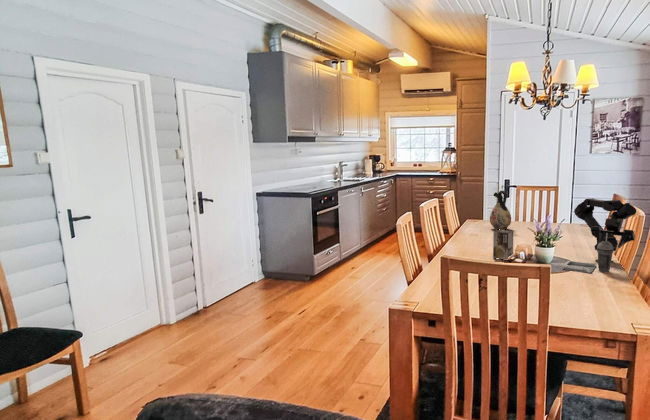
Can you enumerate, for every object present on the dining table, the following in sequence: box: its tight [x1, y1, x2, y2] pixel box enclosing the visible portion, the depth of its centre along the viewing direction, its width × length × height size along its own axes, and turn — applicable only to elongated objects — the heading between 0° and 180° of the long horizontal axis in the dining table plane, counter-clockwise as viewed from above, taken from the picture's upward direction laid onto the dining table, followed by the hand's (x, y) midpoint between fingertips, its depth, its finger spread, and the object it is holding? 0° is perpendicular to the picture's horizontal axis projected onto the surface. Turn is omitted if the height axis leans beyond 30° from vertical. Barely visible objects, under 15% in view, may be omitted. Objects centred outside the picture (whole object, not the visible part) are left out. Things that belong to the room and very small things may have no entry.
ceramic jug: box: [489, 190, 512, 231], centre depth 336 cm, size 17×15×30 cm
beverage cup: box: [596, 233, 614, 274], centre depth 224 cm, size 7×7×20 cm
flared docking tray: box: [562, 260, 597, 274], centre depth 232 cm, size 13×15×2 cm
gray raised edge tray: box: [562, 264, 597, 274], centre depth 232 cm, size 13×14×1 cm
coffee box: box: [492, 230, 514, 259], centre depth 254 cm, size 9×6×16 cm
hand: (607, 246), depth 225 cm, fingers open, 9 cm apart
